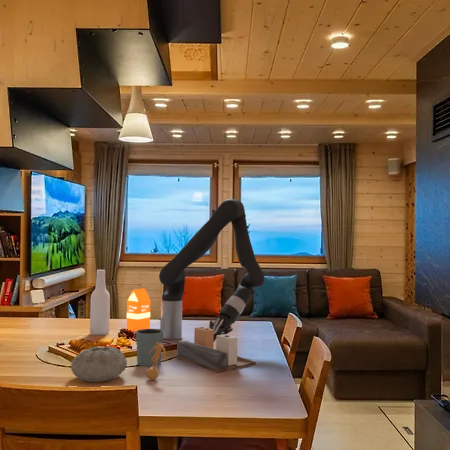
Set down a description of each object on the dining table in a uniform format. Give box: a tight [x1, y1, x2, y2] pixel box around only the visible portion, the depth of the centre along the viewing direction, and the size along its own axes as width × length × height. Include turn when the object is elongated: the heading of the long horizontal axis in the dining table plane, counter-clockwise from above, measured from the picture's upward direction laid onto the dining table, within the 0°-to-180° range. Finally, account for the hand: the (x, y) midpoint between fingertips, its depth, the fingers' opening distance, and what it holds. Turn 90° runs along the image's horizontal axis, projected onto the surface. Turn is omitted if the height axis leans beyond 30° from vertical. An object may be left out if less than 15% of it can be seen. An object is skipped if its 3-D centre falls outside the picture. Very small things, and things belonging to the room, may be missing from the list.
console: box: [175, 340, 257, 374], centre depth 184 cm, size 18×26×6 cm
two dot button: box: [193, 326, 214, 349], centre depth 191 cm, size 4×7×10 cm, turn 40°
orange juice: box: [126, 288, 151, 333], centre depth 241 cm, size 8×9×20 cm
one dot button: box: [215, 334, 238, 366], centre depth 177 cm, size 4×7×10 cm, turn 40°
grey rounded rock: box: [70, 346, 128, 383], centre depth 160 cm, size 18×18×10 cm
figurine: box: [145, 342, 167, 381], centre depth 160 cm, size 8×6×12 cm
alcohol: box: [89, 269, 111, 336], centre depth 229 cm, size 9×9×30 cm
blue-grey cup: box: [135, 328, 164, 368], centre depth 179 cm, size 10×10×12 cm
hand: (208, 343), depth 193 cm, fingers closed
